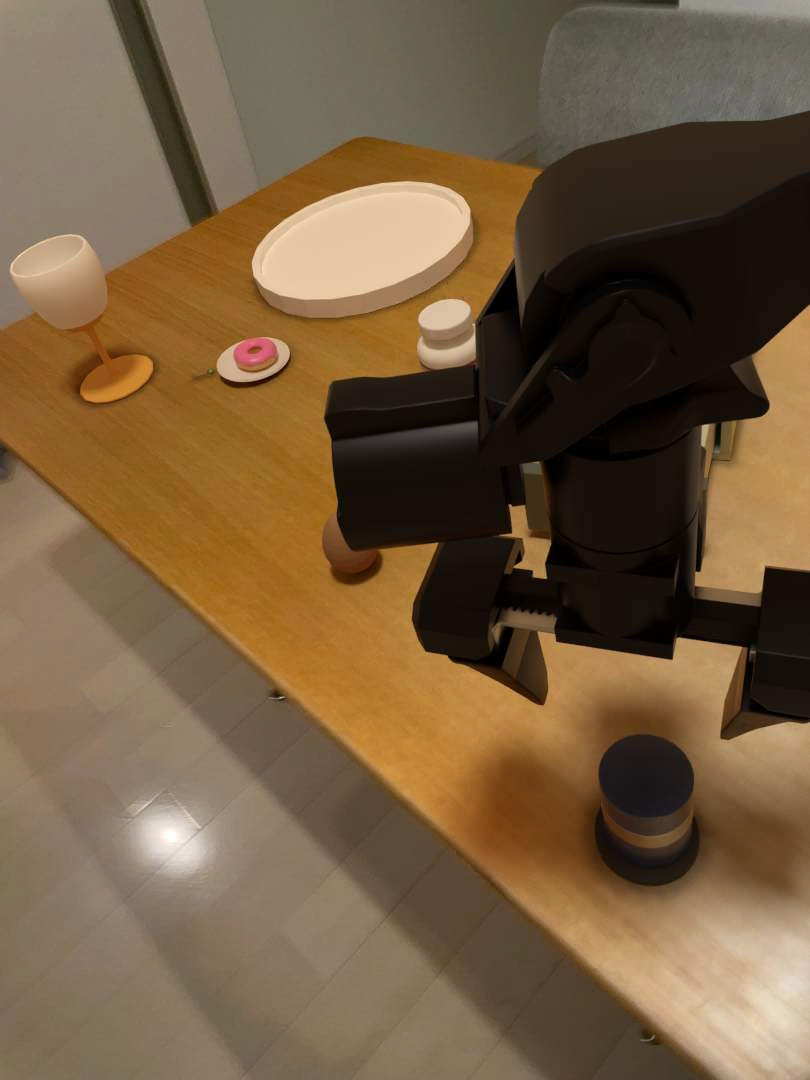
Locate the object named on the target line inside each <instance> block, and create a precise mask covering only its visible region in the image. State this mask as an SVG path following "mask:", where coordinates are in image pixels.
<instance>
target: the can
mask: <svg viewBox="0 0 810 1080" xmlns="http://www.w3.org/2000/svg"><path fill="white" fill-rule="evenodd" d="M597 770H598V772H597V773H598V774H597V776H598V784H599V797H600V804H601V805H600V807H601V806H602V812H603V819H604V828H605V834H606V837H607V840H608V842H609V844H610V846H611V847H612V848H613V850H614V851H615V852H616V853H617V854H618V855H619V856H620V857H621V858H622V859H624V860H625V861H627V862H629V863H631V864H633V865H635V866H638V867H643V868H661V867H665V866H668V865H670V864H672V863H674V862H676V861H677V860H678V859H680V858H681V857H682V856H683V854H684V853H685V852H686V850H687V849H688V847H689V844H690V841H691V837H692V819H693V815H694V803H695V773H694V768H693V765H692V762H691V761H690V760H689V757H688V756H687V754H686V753H685V752H684V751H683V750H682V749H681V747H679V746H677V744H676V743H674V742H672V741H671V740H668V739H667V738H665V737H662V736H660V735H655V734H650V733H637V734H631V735H627V736H624V737H622V738H620V739H618V740H616V741H615V742H613V743H612V744H611V745H610V746H609V747H608V748H607V749H606V750H605V752H604V753H603V755H602V757H601V759H600V761H599V765H598V769H597Z"/></svg>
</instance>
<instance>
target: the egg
mask: <svg viewBox="0 0 810 1080" xmlns="http://www.w3.org/2000/svg"><path fill="white" fill-rule="evenodd" d="M336 515H337V511H335V512H333V513H332V514H331V515H330V516H329V517H328V518H327V519H326V520H325V523H324V526H323V529H322V535H321V546H322V551H323V553H324V557H325V558H326V560H327V561H328V562H329V564H330V565H331V566H332V567H333V568H334V569H336V570H338V571H340V572H342V573H346V574H356V573H361V572H363V571H365V570H366V569H368V568H369V567H370V566H371V565H372V564H373V562H374V561H375V559H376V556H377V554H378V550H371V551H363V552H354V551H352V550H351V549H350V548H349V547H348V545H347V544H346V542H345V540H344V538H343V536H342V534H341V531H340V528H339V525H338V522H337V516H336Z"/></svg>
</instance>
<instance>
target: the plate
mask: <svg viewBox="0 0 810 1080" xmlns="http://www.w3.org/2000/svg"><path fill="white" fill-rule="evenodd" d="M473 244H474V223H473V218H472V211H471V208H470V207H469V205H468V203H467V201H466V200H465V198H464V196H462V195H460V194H459V193H457V192H456V191H454V190H453V189H451V188H449V187H446V186H442V185H439V184H435V183H433V182H432V183H431V182H422V181H421V182H420V181H408V180H407V181H391V182H380V183H376V184H370V185H364V186H359V187H355V188H351V189H349V190H346V191H342V192H339V193H336V194H332V195H329V196H327V197H324V198H323V199H321V200H318V201H315V202H314V203H311V204H308V205H307V206H305V207H303V208H301V209H300V210H298V211H297V212H295V213H292V214H291V215H290V216H288V217H286V218H284V219H283V220H282V221H281V222H280V223H279V224H278V225H276V226H275V227H274V228H273V229H272V230H270V231H269V232H268V233H267V234H266V235H265V237H264V238H263V239H262V240H261V242H260V243H259V244H258V246H257V247H256V249H255V252H254V255H253V258H252V260H251V267H252V273H253V274H252V275H253V278H254V281H255V283H256V287H257V288H258V291H259V293H260V295H261V296H262V297H263V299H264V300H265V301H266V302H267V304H268V305H269V306H271V307H273V308H275V309H277V310H279V311H281V312H283V313H284V314H288V315H293V316H298V317H303V318H308V319H339V318H345V317H351V316H357V315H363V314H369V313H372V312H375V311H379V310H381V309H385V308H388V307H392V306H395V305H398V304H401V303H403V302H405V301H408V300H409V299H411V298H414V297H416V296H418V295H421V294H423V293H425V292H426V291H428V290H429V289H431V288H432V287H434V286H435V285H436V284H438V283H439V282H441V281H442V280H444V279H446V278H448V277H449V276H450V275H451V274H452V273H453V272H454V271H455V269H457V268H458V266H460V265H461V264H462V262H463V261H464V260H465V259H466V258H467V256H468V254H469V252H470V250H471V248H472V246H473Z"/></svg>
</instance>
